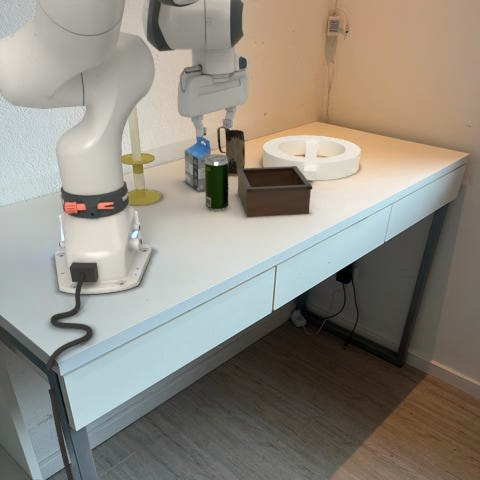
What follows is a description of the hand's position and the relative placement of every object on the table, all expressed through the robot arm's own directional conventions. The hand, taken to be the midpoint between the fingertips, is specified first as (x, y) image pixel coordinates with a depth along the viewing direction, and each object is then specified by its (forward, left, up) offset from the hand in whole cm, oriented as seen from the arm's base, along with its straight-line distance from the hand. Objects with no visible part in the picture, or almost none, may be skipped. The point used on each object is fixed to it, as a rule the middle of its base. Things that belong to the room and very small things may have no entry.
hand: (214, 131), depth 115 cm
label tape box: (+16, +3, -18) cm, 24 cm away
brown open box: (+1, -14, -18) cm, 22 cm away
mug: (+26, -7, -18) cm, 32 cm away
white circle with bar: (+30, -31, -18) cm, 47 cm away
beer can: (0, 0, -18) cm, 18 cm away
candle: (+9, +18, -18) cm, 27 cm away
